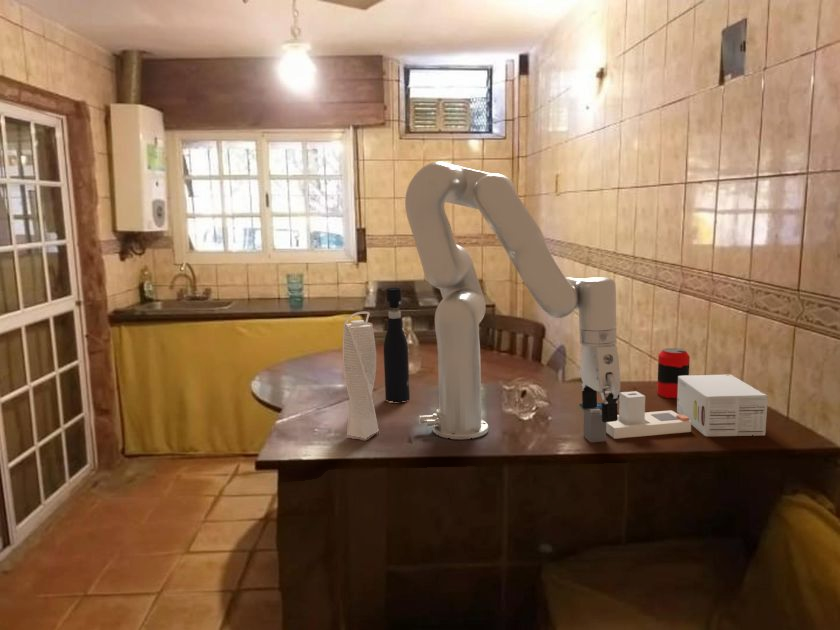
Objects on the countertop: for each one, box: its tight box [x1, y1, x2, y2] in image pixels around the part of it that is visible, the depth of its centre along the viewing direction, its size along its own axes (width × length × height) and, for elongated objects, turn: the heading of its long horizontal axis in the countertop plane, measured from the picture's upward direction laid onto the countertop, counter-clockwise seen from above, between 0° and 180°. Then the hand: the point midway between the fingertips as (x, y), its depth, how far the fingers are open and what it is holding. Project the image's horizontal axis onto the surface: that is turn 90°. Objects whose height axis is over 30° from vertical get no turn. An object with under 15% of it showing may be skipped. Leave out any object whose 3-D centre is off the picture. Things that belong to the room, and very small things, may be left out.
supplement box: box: [676, 373, 769, 437], centre depth 145 cm, size 17×13×9 cm
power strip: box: [606, 410, 692, 440], centre depth 143 cm, size 18×8×3 cm, turn 99°
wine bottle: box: [383, 287, 411, 402], centre depth 168 cm, size 6×6×30 cm
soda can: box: [656, 347, 691, 399], centre depth 167 cm, size 8×8×12 cm
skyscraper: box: [342, 310, 380, 439], centre depth 142 cm, size 8×8×28 cm
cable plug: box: [583, 409, 607, 443], centre depth 138 cm, size 4×4×7 cm
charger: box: [618, 390, 646, 425], centre depth 142 cm, size 4×4×8 cm
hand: (599, 414), depth 137 cm, fingers open, 9 cm apart
